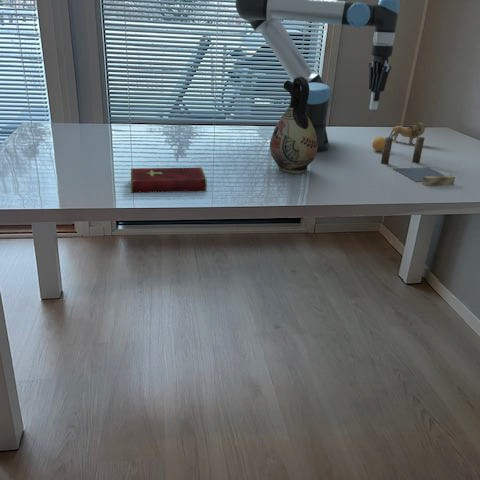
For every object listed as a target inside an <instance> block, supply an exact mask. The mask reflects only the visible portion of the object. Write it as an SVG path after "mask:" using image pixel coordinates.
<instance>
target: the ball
mask: <svg viewBox="0 0 480 480" xmlns="http://www.w3.org/2000/svg"><path fill="white" fill-rule="evenodd" d="M385 138H386V137H383V136H378V137H375V138H374V139H373V141H372V143H371V144H372V145H371V146H372V148H373V150H374V151H376V152H383V148H384V142H385Z"/></svg>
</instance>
